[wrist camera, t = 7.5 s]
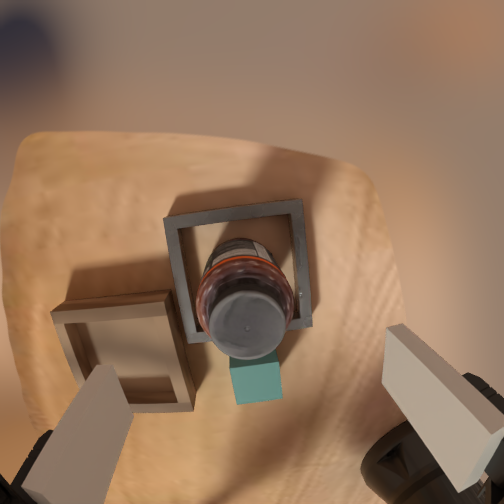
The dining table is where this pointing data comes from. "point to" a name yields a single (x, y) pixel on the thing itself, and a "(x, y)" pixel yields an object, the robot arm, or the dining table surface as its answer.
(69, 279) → the dining table surface
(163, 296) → the open box
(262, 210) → the socket collar
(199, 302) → the supplement bottle
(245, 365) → the pin
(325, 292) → the dining table surface
